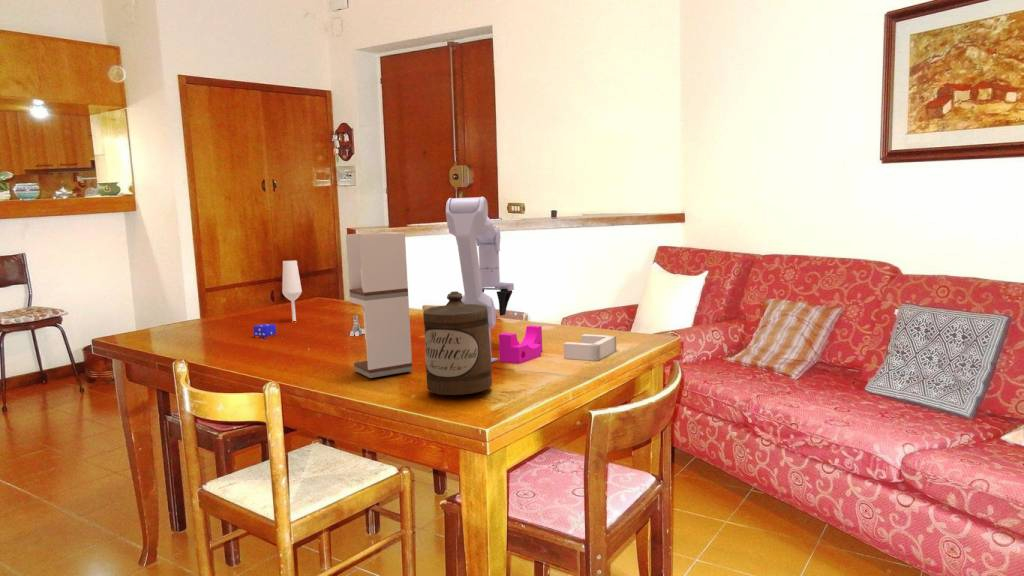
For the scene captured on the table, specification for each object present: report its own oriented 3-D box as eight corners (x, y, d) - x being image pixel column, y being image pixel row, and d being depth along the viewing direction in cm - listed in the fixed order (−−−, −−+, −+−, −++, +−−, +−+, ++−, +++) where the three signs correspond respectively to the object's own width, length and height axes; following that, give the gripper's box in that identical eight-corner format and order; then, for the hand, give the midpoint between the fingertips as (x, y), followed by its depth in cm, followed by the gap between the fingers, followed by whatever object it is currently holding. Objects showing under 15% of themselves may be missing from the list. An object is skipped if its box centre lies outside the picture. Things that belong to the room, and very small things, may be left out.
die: (267, 342, 227) (265, 326, 226) (254, 341, 228) (253, 326, 228) (276, 339, 231) (275, 324, 231) (264, 338, 233) (263, 323, 232)
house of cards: (373, 341, 222) (372, 317, 222) (346, 342, 223) (344, 318, 222) (379, 336, 231) (378, 312, 230) (353, 337, 232) (351, 313, 231)
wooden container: (415, 393, 157) (410, 295, 154) (445, 377, 170) (440, 287, 168) (476, 397, 151) (471, 296, 149) (501, 380, 165) (498, 287, 163)
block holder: (597, 361, 182) (597, 345, 181) (563, 358, 186) (563, 343, 186) (616, 350, 194) (616, 336, 193) (584, 348, 198) (584, 334, 198)
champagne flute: (281, 329, 250) (276, 262, 247) (290, 326, 257) (285, 260, 254) (299, 329, 249) (294, 261, 246) (307, 325, 255) (303, 260, 253)
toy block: (519, 364, 182) (518, 336, 181) (499, 362, 186) (498, 334, 185) (550, 353, 194) (549, 326, 193) (531, 351, 198) (530, 325, 197)
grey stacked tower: (395, 363, 188) (388, 232, 183) (412, 370, 179) (404, 232, 174) (354, 370, 181) (345, 234, 177) (369, 378, 173) (360, 235, 168)
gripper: (518, 266, 203) (519, 313, 205) (475, 266, 210) (477, 311, 212) (506, 269, 197) (508, 317, 199) (462, 268, 204) (464, 315, 206)
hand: (491, 314), depth 205 cm, fingers open, 7 cm apart
